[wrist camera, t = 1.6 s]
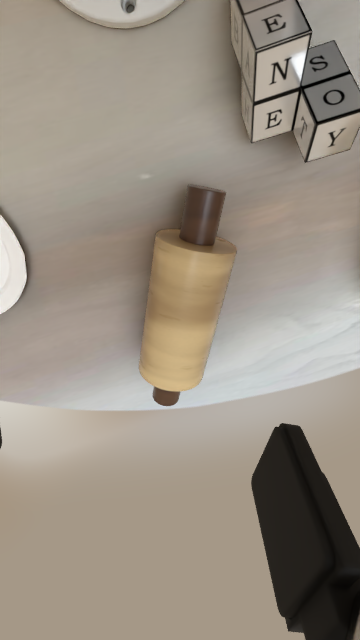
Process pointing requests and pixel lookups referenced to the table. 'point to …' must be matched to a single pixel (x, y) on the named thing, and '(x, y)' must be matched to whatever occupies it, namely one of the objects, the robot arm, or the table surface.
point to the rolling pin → (185, 296)
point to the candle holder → (10, 267)
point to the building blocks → (292, 79)
